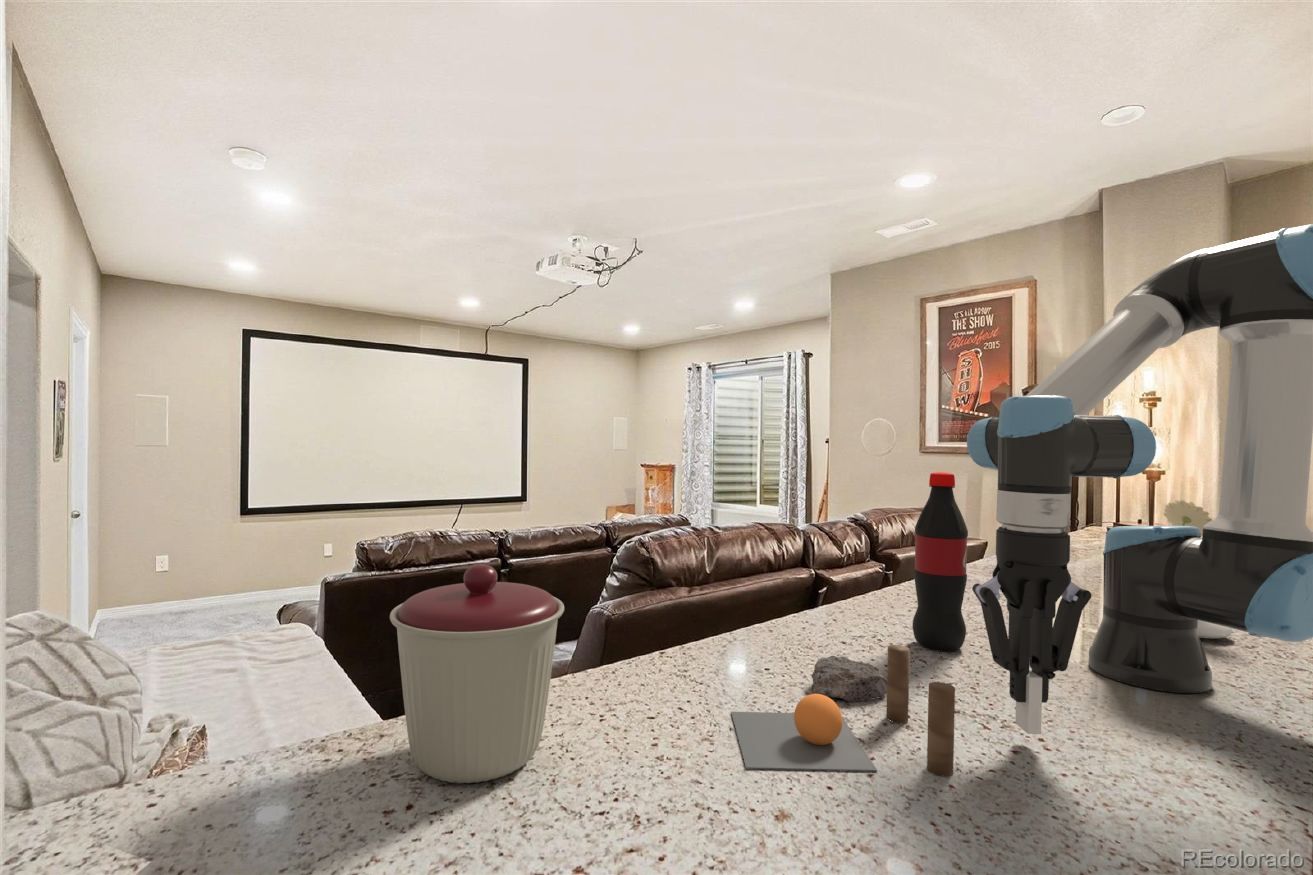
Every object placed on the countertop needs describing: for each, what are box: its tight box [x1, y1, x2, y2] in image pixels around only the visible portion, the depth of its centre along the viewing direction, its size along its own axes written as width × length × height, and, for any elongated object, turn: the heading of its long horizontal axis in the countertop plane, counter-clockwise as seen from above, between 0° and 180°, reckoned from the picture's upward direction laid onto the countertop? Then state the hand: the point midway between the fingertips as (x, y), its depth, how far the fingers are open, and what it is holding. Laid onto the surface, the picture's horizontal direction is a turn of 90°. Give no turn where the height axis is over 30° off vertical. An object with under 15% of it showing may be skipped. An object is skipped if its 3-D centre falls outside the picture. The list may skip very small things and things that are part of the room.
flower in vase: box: [1163, 499, 1234, 640], centre depth 123 cm, size 13×11×25 cm
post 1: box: [885, 644, 911, 724], centre depth 83 cm, size 3×3×9 cm
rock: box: [811, 655, 887, 703], centre depth 92 cm, size 9×11×4 cm
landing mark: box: [731, 711, 878, 772], centre depth 77 cm, size 14×14×1 cm
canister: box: [389, 563, 565, 784], centre depth 71 cm, size 18×18×21 cm
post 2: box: [926, 681, 956, 777], centre depth 70 cm, size 3×3×9 cm
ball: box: [793, 693, 843, 745], centre depth 76 cm, size 6×6×6 cm
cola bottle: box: [912, 471, 969, 653], centre depth 113 cm, size 8×8×30 cm
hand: (1028, 728), depth 77 cm, fingers closed
